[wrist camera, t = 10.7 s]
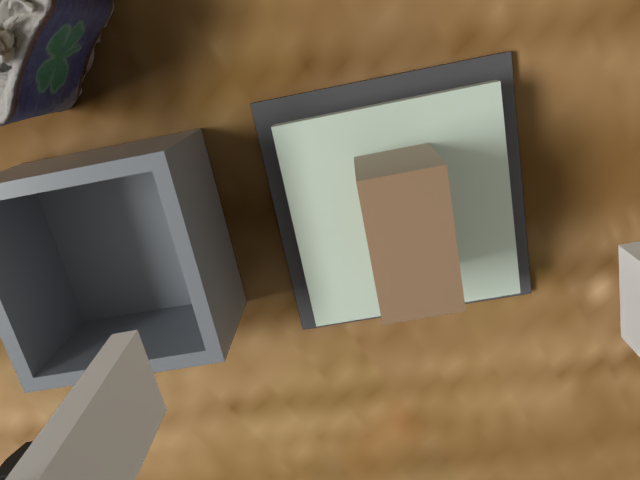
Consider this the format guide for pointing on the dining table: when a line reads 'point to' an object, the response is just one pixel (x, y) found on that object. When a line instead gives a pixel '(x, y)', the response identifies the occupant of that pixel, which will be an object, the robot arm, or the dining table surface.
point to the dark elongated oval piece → (46, 53)
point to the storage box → (116, 259)
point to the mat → (374, 94)
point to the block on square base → (402, 205)
